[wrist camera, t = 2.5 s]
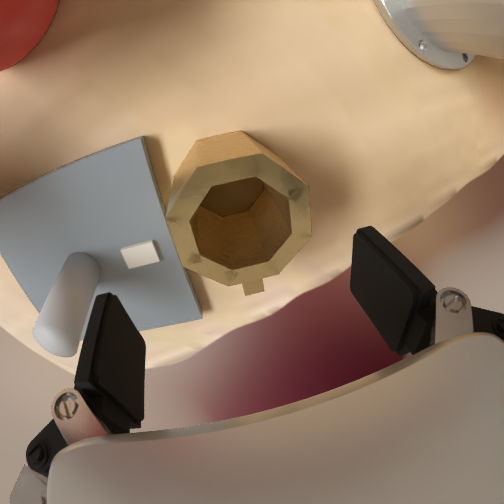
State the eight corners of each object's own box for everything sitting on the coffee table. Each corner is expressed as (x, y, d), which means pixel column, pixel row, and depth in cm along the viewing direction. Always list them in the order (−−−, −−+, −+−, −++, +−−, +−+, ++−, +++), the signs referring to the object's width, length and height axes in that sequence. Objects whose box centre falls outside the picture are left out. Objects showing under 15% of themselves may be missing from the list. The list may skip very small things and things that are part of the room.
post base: (143, 135, 15) (104, 176, 8) (201, 310, 24) (209, 391, 17) (-14, 206, 14) (-69, 265, 8) (65, 335, 23) (48, 402, 16)
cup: (166, 148, 16) (152, 178, 11) (271, 125, 16) (305, 145, 11) (199, 260, 21) (203, 319, 16) (285, 240, 21) (312, 293, 16)
